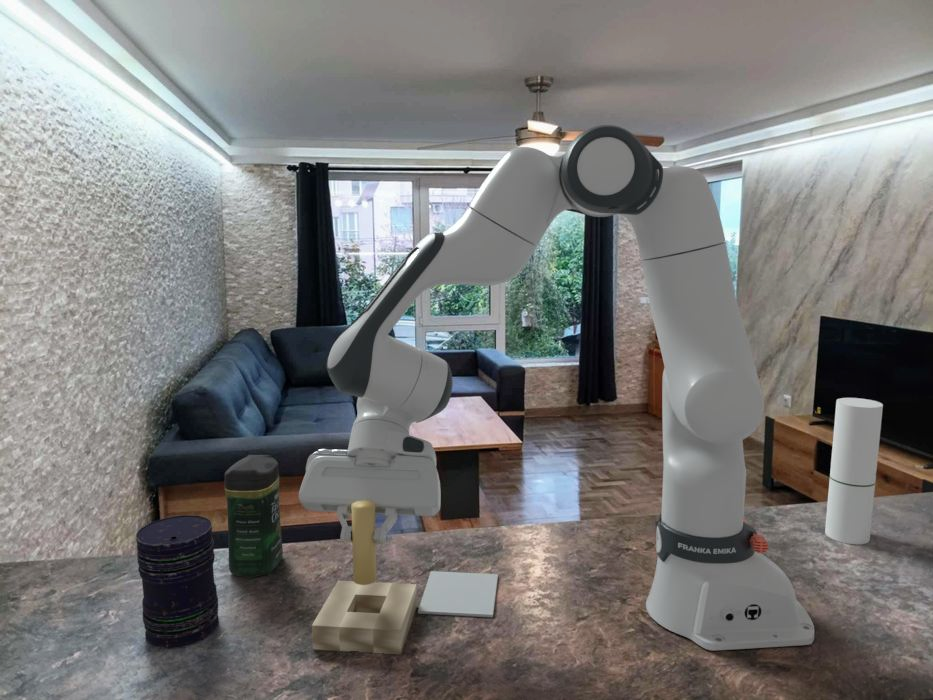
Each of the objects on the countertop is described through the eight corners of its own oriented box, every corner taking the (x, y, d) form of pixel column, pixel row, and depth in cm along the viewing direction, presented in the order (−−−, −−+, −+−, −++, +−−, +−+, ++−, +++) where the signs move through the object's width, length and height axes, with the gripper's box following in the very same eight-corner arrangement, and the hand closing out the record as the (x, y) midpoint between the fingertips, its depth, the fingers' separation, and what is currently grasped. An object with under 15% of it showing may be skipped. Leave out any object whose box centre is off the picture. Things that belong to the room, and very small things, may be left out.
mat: (497, 576, 111) (497, 574, 111) (492, 617, 99) (492, 614, 99) (430, 573, 112) (430, 571, 112) (418, 613, 100) (417, 610, 100)
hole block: (417, 605, 102) (416, 584, 102) (400, 654, 90) (400, 630, 90) (338, 601, 103) (337, 580, 103) (313, 649, 92) (311, 625, 91)
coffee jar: (272, 580, 110) (265, 470, 107) (223, 579, 110) (215, 469, 107) (289, 552, 120) (283, 450, 117) (244, 552, 120) (237, 450, 117)
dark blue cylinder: (147, 617, 100) (138, 520, 97) (219, 604, 103) (212, 510, 101) (141, 656, 90) (131, 550, 88) (220, 640, 94) (212, 538, 91)
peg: (378, 574, 97) (377, 500, 95) (373, 585, 94) (371, 509, 92) (356, 573, 98) (354, 499, 96) (350, 584, 94) (348, 508, 93)
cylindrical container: (870, 532, 126) (883, 400, 122) (868, 547, 120) (882, 409, 116) (826, 524, 130) (838, 396, 125) (823, 538, 124) (834, 404, 119)
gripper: (304, 438, 101) (283, 529, 93) (442, 443, 98) (432, 536, 91) (315, 458, 106) (296, 545, 98) (446, 462, 104) (437, 552, 96)
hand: (362, 541), depth 94 cm, fingers closed on peg, 3 cm apart
